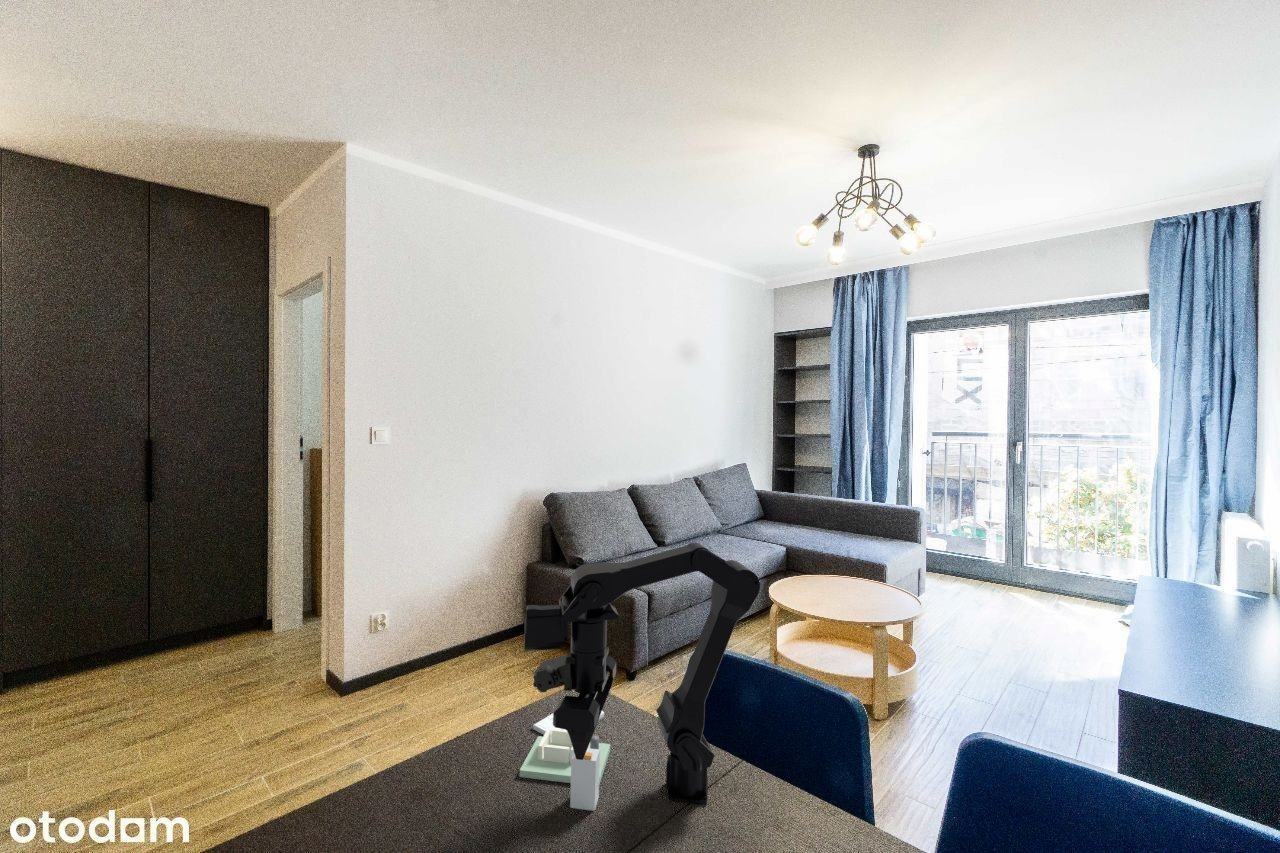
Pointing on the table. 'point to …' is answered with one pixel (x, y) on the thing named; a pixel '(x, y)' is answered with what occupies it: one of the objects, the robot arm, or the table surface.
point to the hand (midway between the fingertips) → (586, 741)
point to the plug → (585, 780)
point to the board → (557, 757)
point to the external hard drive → (550, 724)
